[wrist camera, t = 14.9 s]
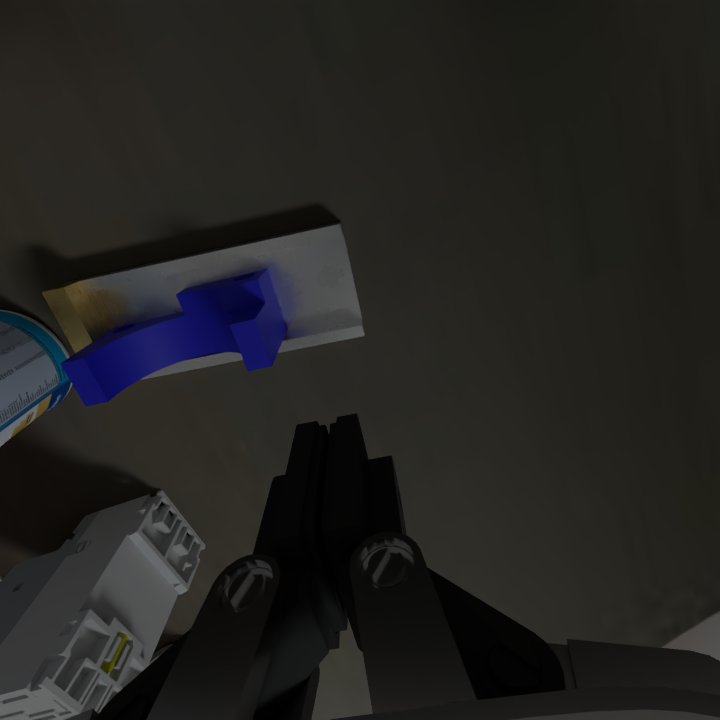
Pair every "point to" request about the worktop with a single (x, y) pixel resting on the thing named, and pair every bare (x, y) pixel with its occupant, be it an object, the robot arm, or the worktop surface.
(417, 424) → the worktop surface
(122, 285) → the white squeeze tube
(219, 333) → the blue plastic bracket
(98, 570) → the circuit breaker
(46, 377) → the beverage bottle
